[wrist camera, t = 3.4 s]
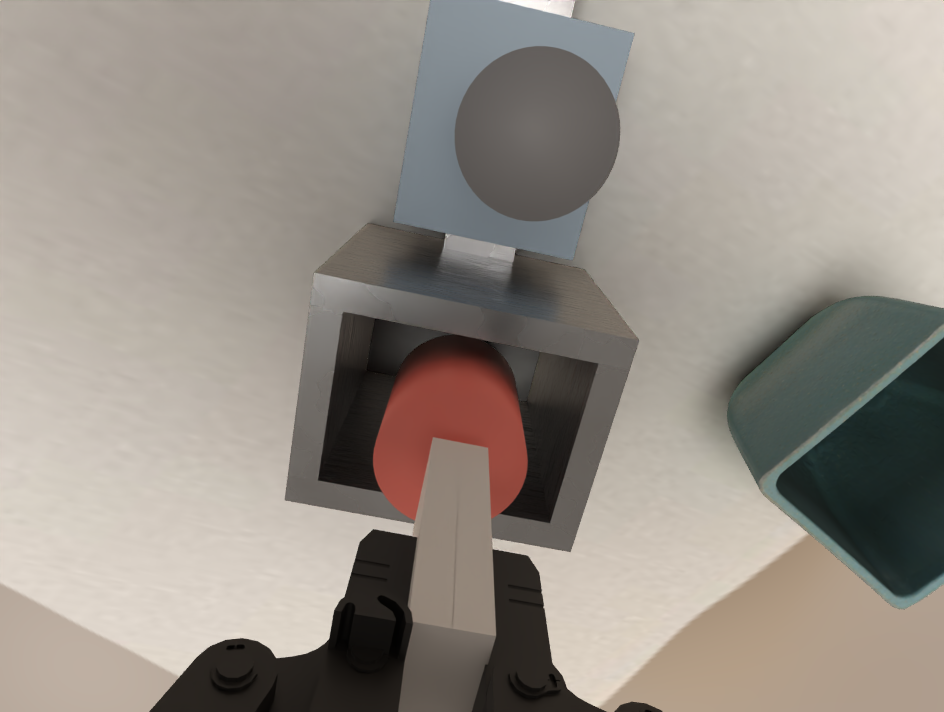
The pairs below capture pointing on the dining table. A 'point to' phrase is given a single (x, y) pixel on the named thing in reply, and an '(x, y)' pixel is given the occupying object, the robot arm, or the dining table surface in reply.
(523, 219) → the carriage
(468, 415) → the button
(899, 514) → the flower pot
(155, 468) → the dining table surface
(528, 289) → the open box
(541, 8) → the rail
